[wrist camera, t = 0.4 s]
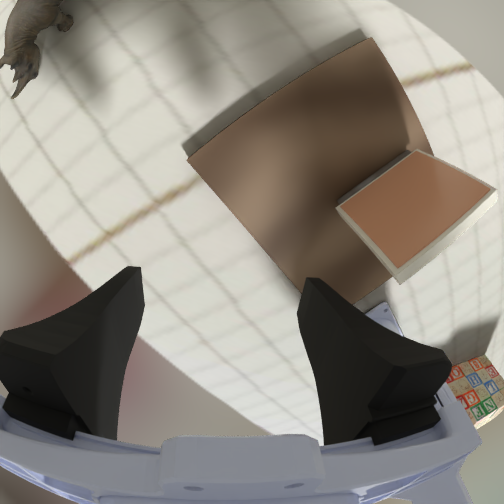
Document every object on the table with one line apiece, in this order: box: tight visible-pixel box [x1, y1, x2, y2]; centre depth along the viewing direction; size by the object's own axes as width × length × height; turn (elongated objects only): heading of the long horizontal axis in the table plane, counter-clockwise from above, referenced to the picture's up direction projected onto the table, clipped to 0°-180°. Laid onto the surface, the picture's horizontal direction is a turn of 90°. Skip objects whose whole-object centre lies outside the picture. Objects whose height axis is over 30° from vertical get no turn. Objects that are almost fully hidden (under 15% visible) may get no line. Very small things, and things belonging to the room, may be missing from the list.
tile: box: [336, 149, 498, 285], centre depth 15 cm, size 8×8×1 cm
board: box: [187, 37, 434, 305], centre depth 20 cm, size 18×16×2 cm
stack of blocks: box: [446, 355, 504, 429], centre depth 33 cm, size 21×6×12 cm, turn 87°
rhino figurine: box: [0, 0, 73, 99], centre depth 9 cm, size 4×14×6 cm, turn 158°
